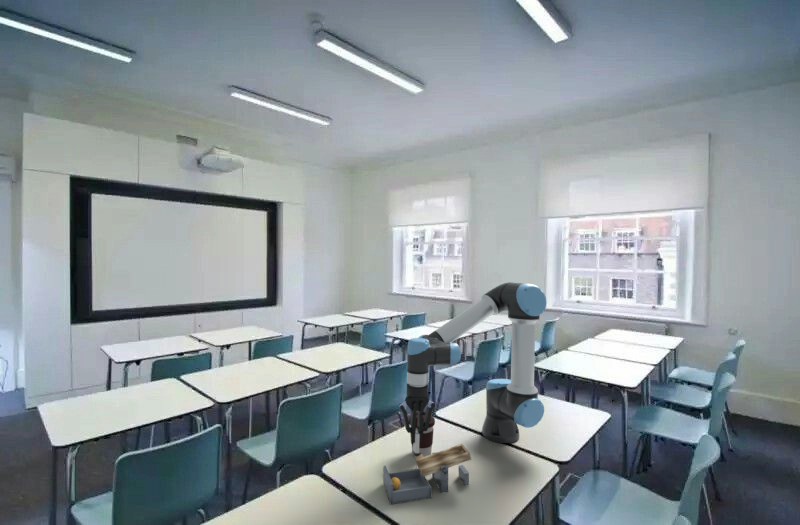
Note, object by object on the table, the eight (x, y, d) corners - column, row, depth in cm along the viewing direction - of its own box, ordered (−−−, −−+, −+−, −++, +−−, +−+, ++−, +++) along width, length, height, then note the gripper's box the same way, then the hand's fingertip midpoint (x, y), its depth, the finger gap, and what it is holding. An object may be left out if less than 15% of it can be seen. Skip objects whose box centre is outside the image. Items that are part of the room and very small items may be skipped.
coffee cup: (433, 462, 137) (433, 421, 137) (406, 459, 139) (406, 419, 139) (436, 449, 147) (436, 410, 147) (411, 446, 149) (411, 408, 149)
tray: (421, 478, 127) (421, 460, 127) (431, 497, 117) (431, 478, 117) (383, 483, 124) (383, 465, 124) (390, 504, 114) (390, 484, 114)
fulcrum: (438, 475, 129) (438, 451, 129) (449, 493, 119) (448, 466, 119) (431, 476, 128) (431, 452, 128) (441, 494, 119) (441, 467, 119)
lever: (455, 440, 136) (453, 433, 136) (471, 459, 123) (469, 452, 123) (411, 455, 132) (410, 448, 132) (423, 476, 119) (421, 469, 119)
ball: (400, 477, 122) (391, 473, 122) (403, 483, 119) (394, 479, 118) (395, 487, 122) (386, 483, 121) (398, 494, 119) (388, 489, 118)
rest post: (462, 476, 128) (462, 465, 128) (469, 484, 124) (469, 473, 124) (458, 477, 128) (458, 465, 128) (464, 485, 123) (464, 473, 123)
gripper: (431, 379, 136) (430, 444, 136) (396, 381, 133) (395, 447, 133) (438, 385, 129) (437, 454, 129) (402, 388, 126) (400, 458, 126)
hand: (416, 451), depth 131 cm, fingers closed
